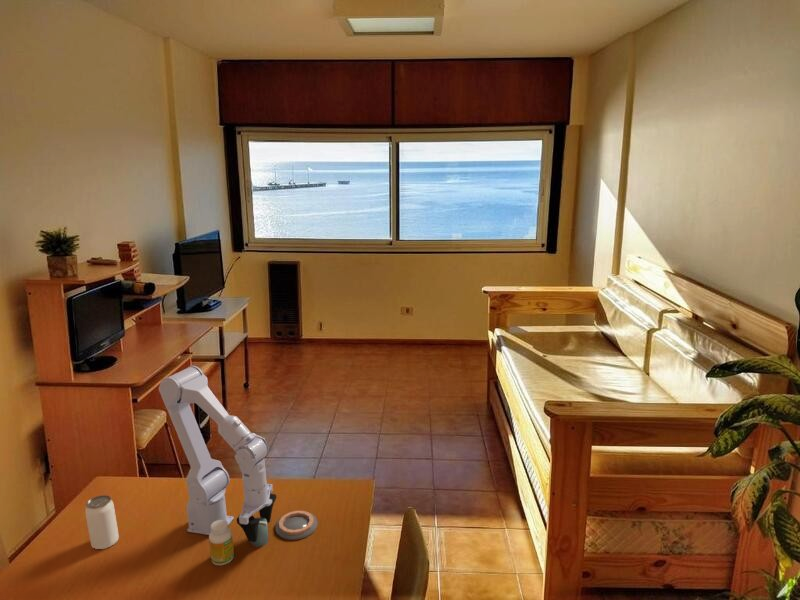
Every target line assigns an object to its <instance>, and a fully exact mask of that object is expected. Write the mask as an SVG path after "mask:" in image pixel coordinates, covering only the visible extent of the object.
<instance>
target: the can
mask: <svg viewBox="0 0 800 600" xmlns="http://www.w3.org/2000/svg"><path fill="white" fill-rule="evenodd" d="M84 514H85V519H86V523H87V530H88V536H89V540H90V545H91V547H92V548H93V549H94V548H95V550H97V549H102V550H106V549H108V547H109V548H111V547H113V546H114V545H115V544H117V542H118V541H119V538H120V535H119V530H118V529H119V528H118V523H117V516H116V515H117V514H116V510H115V506H114V501H113V500H112V498H111V496H109V495H106V494H103V495H96V496H94V497H92V498H91V499H89V500H88V501H87V502H86V504H85V513H84ZM112 545H113V546H112Z"/></svg>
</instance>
